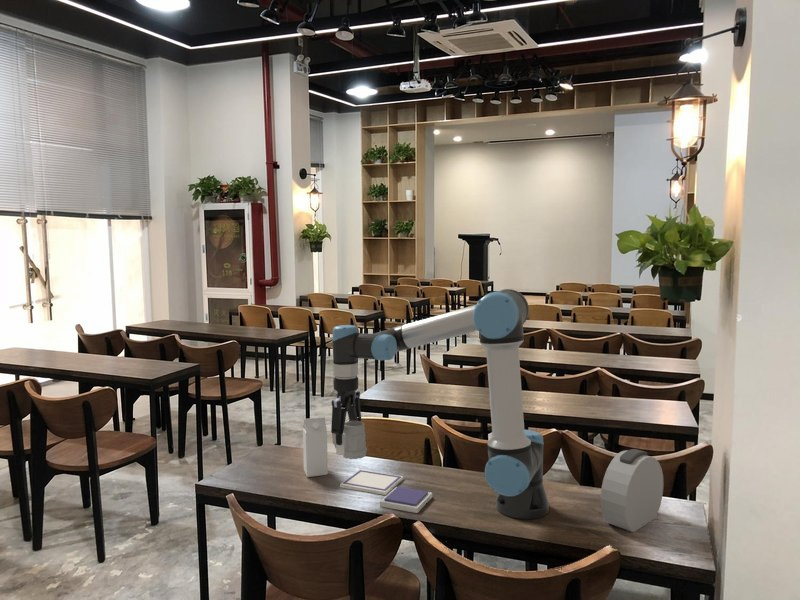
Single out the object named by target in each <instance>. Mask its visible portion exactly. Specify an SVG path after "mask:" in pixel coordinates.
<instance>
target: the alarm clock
mask: <svg viewBox="0 0 800 600" xmlns="http://www.w3.org/2000/svg"><path fill="white" fill-rule="evenodd" d="M663 493H664V474H663V469H662V466H661V464H660V462H659V461H658V460H657V459H656V457H653V456H650V455H648V452H647V451H644V450H640V449H637V448H636V449H635V448H631V449H627V450H626V449H625V450H622V451H620V452H618V453H617V454H615V456H614V457H613V458H612V460H611V461H610V463H609V465H608V467H607V468H606V470H605V474H604V477H603V479H602V485H601V490H600V509H601V513H602V516H603V518H604V520H605V522H606V523H607V524H609V525H612V526H615V527H618V528H620V529H623V530H626V531H628V532H631V533H635V532H636V531H637V530H639V529H640V528H643V526H646V525H647V524H648V523H650V522H652V521H653V520H655V519H656V518H657V516H658V513H659V511H660V508H661V504H662V500H663Z"/></svg>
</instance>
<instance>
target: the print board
mask: <svg viewBox="0 0 800 600" xmlns="http://www.w3.org/2000/svg"><path fill="white" fill-rule="evenodd" d="M403 480H404V476H402V475H396V474H391V473H384V472H377V471H373V470H365V469H358V470H357V471H356V472H354V473H353V474H352V475H351V476H349V477H348V478H346V479H345V480H344V481H343V482H341V483H340V484H339V488H340V489H342V488H343V489H346V490H347V489H348V490H354V491H360V492H365V493H371V494H376V495H383V496H387V495H388V494H389V493H390V492H391V491H392V490H393V489H394V488H396V487H397V486H398V485H399V484H400V483H401V482H402V481H403Z"/></svg>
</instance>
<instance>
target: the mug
mask: <svg viewBox="0 0 800 600" xmlns="http://www.w3.org/2000/svg"><path fill="white" fill-rule="evenodd" d="M365 430H366V429H365V422H363V421H362V420H361V421H349V420H348V421H345V425H344V432H343V433H344V434H345V455H344V456H343V455H342V456H343V458H344V459H346V460H347V459H349V460H358V459H359V460H360V459H363V458H365V457H366V456H367V452H368V448H367V446H366V436H367V435H366V434H367V433H366V431H365ZM331 438H332V444H333V445H334V448H335V449H336V434H333V433H331Z"/></svg>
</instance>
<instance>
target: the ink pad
mask: <svg viewBox="0 0 800 600" xmlns="http://www.w3.org/2000/svg"><path fill="white" fill-rule="evenodd" d="M432 498H433V492H430V491H427V490H421V489H415V488H408V487H403V486H395V487H394V488H393V489H392V490H391V491H389V492H388V493H387V494H386V495H384V497H383V498H382V499H381V500H380V501H379V507H382V508H387V509H392V510H396V511H397V510H398V511H403V512H409V513H414V514H418V513H419V512H420V511H421V510H422V509H423V508H424V507H425V506H426V505H427V504H426V503H428V502H430V500H432Z"/></svg>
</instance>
